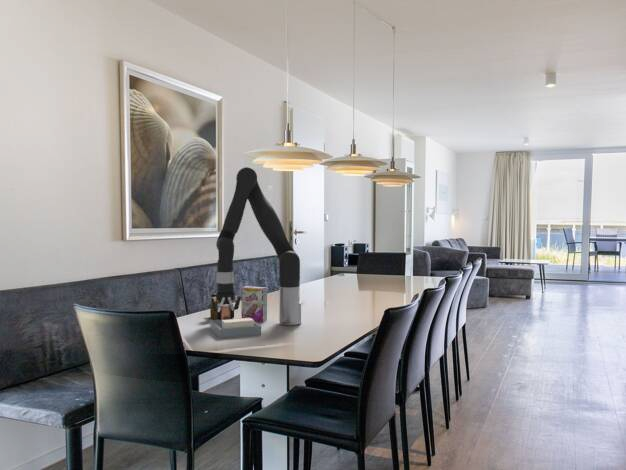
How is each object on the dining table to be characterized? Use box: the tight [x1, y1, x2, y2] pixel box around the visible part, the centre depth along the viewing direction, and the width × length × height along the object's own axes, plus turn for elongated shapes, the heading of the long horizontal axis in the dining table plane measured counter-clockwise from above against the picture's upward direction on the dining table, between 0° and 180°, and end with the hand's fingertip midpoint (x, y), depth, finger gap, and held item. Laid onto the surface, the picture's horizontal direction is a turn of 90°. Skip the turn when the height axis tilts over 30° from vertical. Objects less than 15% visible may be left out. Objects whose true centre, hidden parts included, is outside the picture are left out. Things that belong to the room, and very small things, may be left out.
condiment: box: [204, 292, 219, 321], centre depth 244 cm, size 7×8×12 cm
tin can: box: [220, 304, 231, 320], centre depth 229 cm, size 5×5×9 cm
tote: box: [209, 317, 262, 340], centre depth 213 cm, size 17×18×4 cm
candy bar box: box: [241, 285, 268, 323], centre depth 236 cm, size 11×5×16 cm, turn 70°
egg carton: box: [222, 318, 254, 329], centre depth 209 cm, size 12×5×6 cm, turn 113°
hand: (225, 319), depth 229 cm, fingers closed on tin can, 5 cm apart
